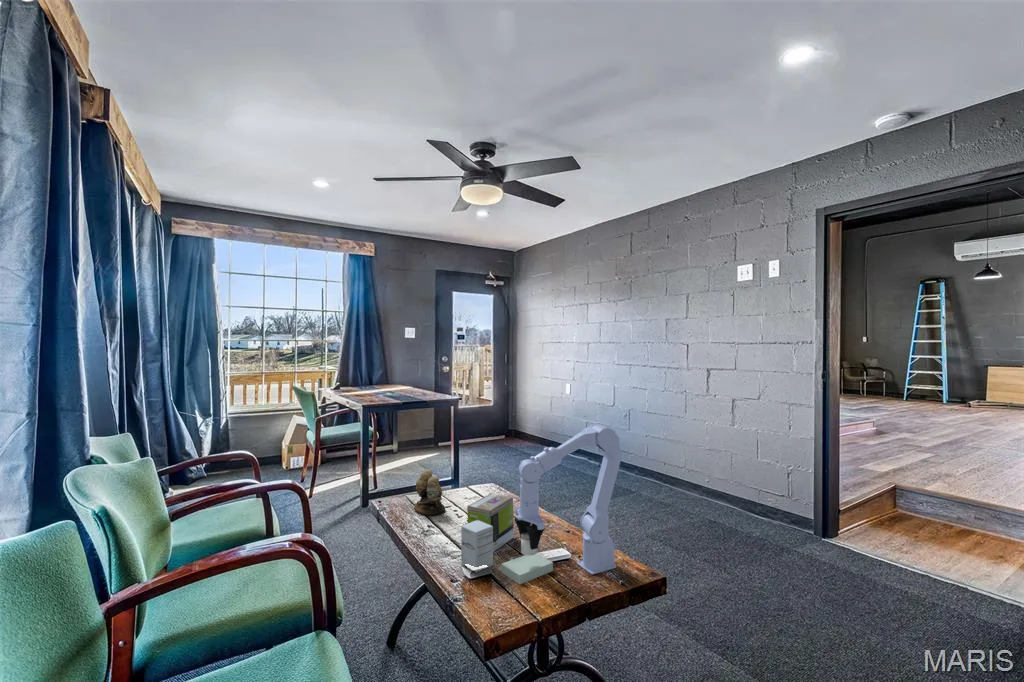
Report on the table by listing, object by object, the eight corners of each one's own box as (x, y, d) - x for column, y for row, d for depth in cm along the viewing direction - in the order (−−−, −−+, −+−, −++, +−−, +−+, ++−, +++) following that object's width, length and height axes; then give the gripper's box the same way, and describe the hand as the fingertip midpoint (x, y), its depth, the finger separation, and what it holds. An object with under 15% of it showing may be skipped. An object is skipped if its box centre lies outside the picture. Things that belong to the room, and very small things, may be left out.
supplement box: (460, 565, 149) (460, 525, 149) (478, 557, 154) (478, 519, 154) (475, 573, 144) (475, 532, 144) (493, 565, 149) (493, 525, 149)
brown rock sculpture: (452, 513, 194) (452, 472, 193) (425, 520, 187) (425, 477, 187) (433, 500, 208) (433, 462, 208) (408, 506, 202) (407, 466, 201)
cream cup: (532, 547, 147) (532, 531, 147) (540, 553, 143) (541, 537, 143) (517, 550, 145) (517, 533, 145) (525, 556, 140) (525, 539, 141)
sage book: (533, 561, 153) (533, 551, 153) (552, 572, 145) (552, 562, 145) (500, 573, 145) (500, 563, 145) (519, 585, 137) (519, 575, 137)
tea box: (491, 532, 174) (491, 492, 174) (514, 538, 169) (514, 496, 169) (466, 547, 162) (466, 504, 162) (491, 554, 156) (491, 509, 156)
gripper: (506, 495, 149) (506, 538, 149) (530, 510, 136) (530, 557, 136) (526, 492, 152) (526, 534, 152) (550, 506, 139) (550, 552, 139)
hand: (529, 545), depth 144 cm, fingers closed on cream cup, 5 cm apart
